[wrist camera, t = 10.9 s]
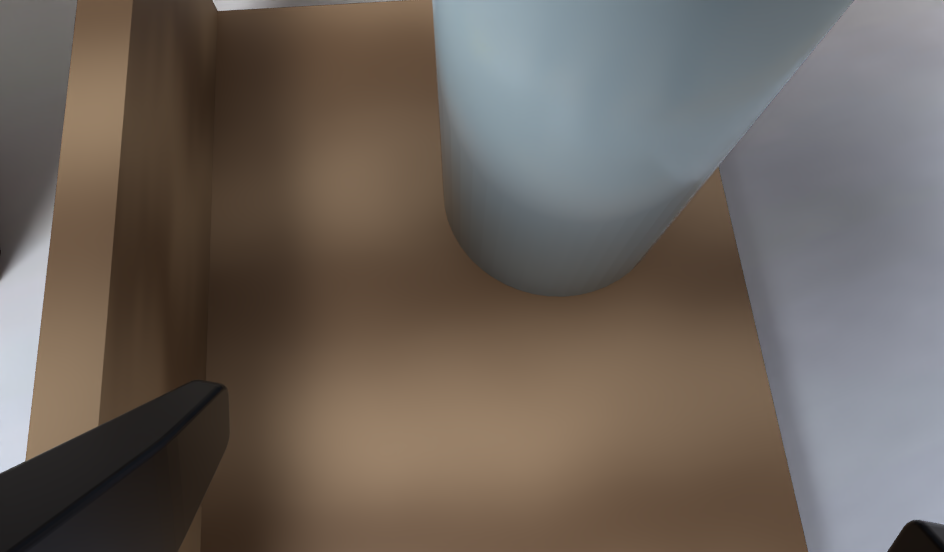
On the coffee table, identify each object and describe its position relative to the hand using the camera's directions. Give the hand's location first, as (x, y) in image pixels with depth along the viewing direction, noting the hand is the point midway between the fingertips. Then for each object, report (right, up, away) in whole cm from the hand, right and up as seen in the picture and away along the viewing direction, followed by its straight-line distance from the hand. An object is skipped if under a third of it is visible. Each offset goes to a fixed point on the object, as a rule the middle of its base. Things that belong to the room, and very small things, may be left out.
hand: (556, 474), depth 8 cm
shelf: (-2, +1, +12) cm, 12 cm away
